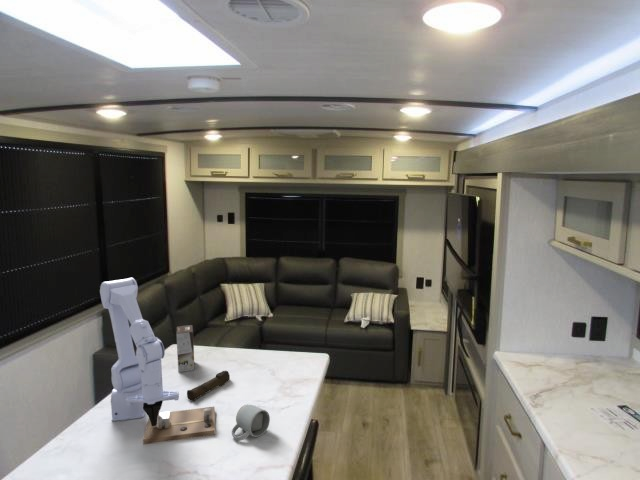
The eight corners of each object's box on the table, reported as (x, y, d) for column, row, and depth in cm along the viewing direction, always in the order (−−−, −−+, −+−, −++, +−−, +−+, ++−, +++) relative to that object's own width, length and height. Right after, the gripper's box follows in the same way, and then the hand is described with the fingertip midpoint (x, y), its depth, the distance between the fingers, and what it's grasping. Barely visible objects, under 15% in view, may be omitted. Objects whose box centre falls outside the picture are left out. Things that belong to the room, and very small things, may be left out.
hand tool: (193, 403, 147) (193, 390, 146) (186, 399, 149) (185, 387, 149) (234, 382, 162) (234, 370, 162) (227, 379, 165) (226, 368, 164)
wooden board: (143, 444, 123) (142, 428, 123) (149, 418, 137) (149, 404, 136) (214, 434, 128) (214, 419, 128) (214, 410, 142) (214, 396, 141)
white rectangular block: (158, 430, 127) (157, 420, 127) (160, 421, 132) (159, 412, 131) (168, 429, 128) (168, 419, 127) (170, 420, 132) (169, 411, 132)
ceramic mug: (253, 420, 136) (252, 397, 135) (270, 430, 131) (269, 406, 129) (225, 435, 128) (224, 411, 127) (243, 446, 123) (242, 421, 122)
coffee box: (194, 370, 172) (193, 331, 170) (178, 372, 170) (176, 333, 168) (194, 361, 181) (192, 324, 179) (178, 363, 179) (176, 326, 177)
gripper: (122, 390, 122) (125, 435, 124) (176, 384, 125) (178, 428, 127) (127, 379, 129) (130, 422, 131) (178, 374, 132) (180, 415, 134)
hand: (154, 424), depth 129 cm, fingers closed
